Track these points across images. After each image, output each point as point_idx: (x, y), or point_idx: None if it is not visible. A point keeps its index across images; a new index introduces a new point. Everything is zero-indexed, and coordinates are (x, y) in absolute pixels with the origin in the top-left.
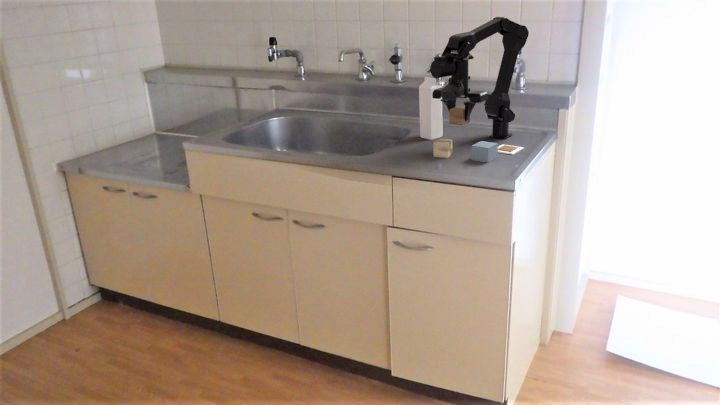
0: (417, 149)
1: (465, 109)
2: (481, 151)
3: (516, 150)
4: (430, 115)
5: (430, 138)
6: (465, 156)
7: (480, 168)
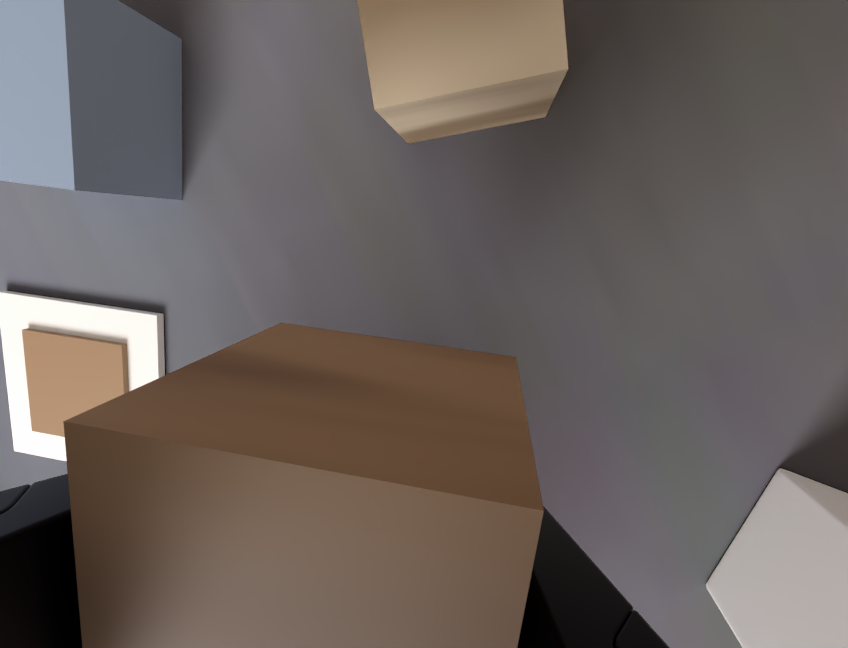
0: (805, 124)
1: (4, 530)
2: None
3: (16, 370)
4: None
5: (795, 477)
6: (269, 108)
7: None
